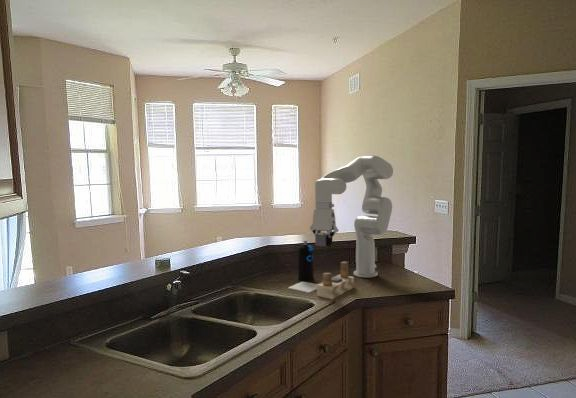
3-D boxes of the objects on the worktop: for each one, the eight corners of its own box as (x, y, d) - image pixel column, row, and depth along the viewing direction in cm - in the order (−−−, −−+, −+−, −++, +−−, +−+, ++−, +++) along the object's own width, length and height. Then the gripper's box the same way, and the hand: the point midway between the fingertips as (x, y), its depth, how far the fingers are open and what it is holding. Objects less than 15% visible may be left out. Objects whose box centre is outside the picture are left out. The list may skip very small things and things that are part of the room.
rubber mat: (302, 282, 190) (302, 281, 190) (322, 286, 183) (322, 285, 183) (288, 288, 181) (288, 287, 181) (308, 293, 173) (308, 292, 173)
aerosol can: (295, 280, 194) (295, 241, 192) (301, 276, 201) (300, 238, 200) (310, 281, 191) (310, 242, 189) (315, 277, 198) (315, 239, 197)
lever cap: (323, 242, 180) (323, 230, 180) (332, 243, 177) (332, 231, 177) (315, 245, 174) (315, 232, 174) (325, 246, 171) (324, 233, 171)
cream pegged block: (339, 284, 185) (338, 260, 185) (353, 287, 181) (353, 262, 180) (316, 295, 170) (316, 269, 169) (332, 299, 165) (332, 272, 164)
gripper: (344, 206, 173) (344, 245, 174) (312, 204, 182) (312, 242, 184) (336, 207, 167) (336, 248, 168) (303, 206, 176) (304, 244, 178)
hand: (323, 244), depth 176 cm, fingers closed on lever cap, 5 cm apart
